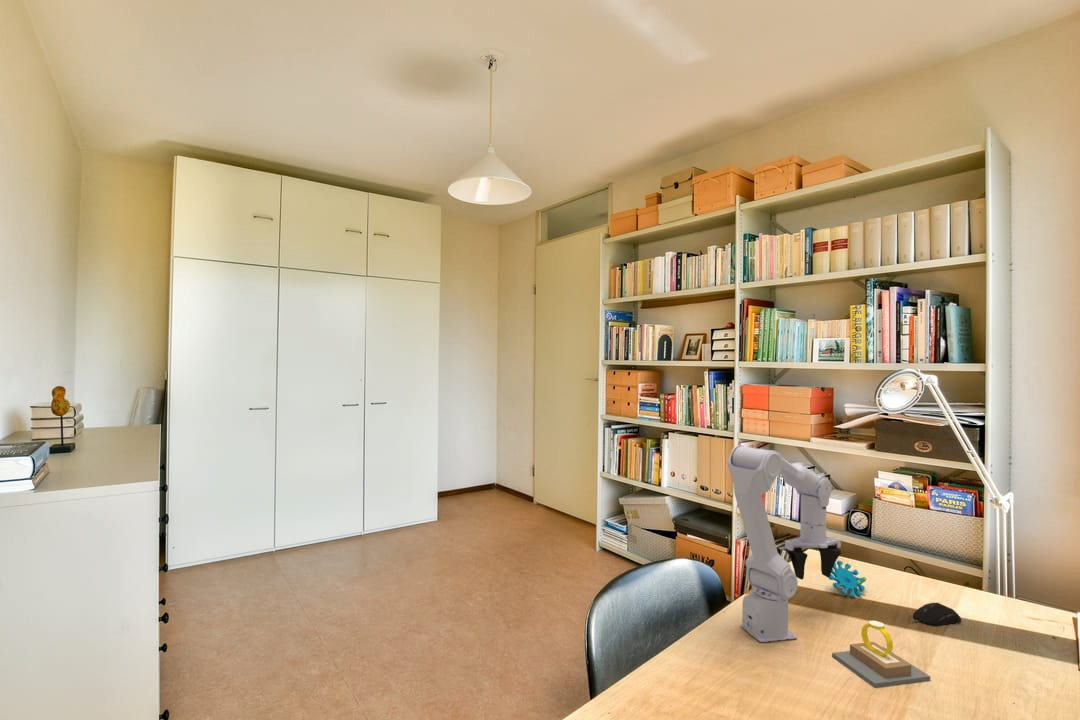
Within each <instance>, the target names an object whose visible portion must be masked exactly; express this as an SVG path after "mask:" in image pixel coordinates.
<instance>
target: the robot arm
mask: <svg viewBox="0 0 1080 720" xmlns="http://www.w3.org/2000/svg"><path fill="white" fill-rule="evenodd" d="M726 464H727V467H728V471H729V474H730V476H731V478H730V479H731V480H732V484H733V491H734V497H735V501H736V503H737V507H738V510H739V513H740V517H741V520H742V521H741V522H742V523H743V528H744V530H745V534H746V536H747V537H746V538H747V541H748V545H749V547H750V551H751V554H750V555H749V556H748V557H747V559H746V560H745V561H744V563H745V566H746V579H747V582H748V584H749V585H750V586H751V591H753V592H751V593H749V594H746V595H745V596H744V597H743V599H742V614H741V616H742V623H740V627H741V628H743V630H745V631H746V632H747V633H748V634H750V636H752V637H753V638H754V637H755V638H754V639H756V641H758V642H759V643H768V642H769V641H770V642H777V641H778V640H780V641H786V639H789V640H796V639H797V638H798V637H797V635H796V634H794V633H793V632H792V631H790V630H789V600H790V599H791V598H793V597H794V595H795V594H796V592H797V589H798V585H799V584H798V583H799V582H798V579H799V580H804V578H805V566H806V560H807V558H808V556H809V555H808V554H807V553H806V552H804V550H803V549H818V552H819V554H820V556H819V557H820V570H821V575H823V576H825V577H826V578H828V577H830V575H831V574H832V573H831V572H832V569H833V566H834V564H835V563H837V561H838V558H839V557H840V555H842V550H841V549H839V548H841V547H842V539H841V538H838V537H834V536H833V537H831V536H830V537H829V536H827V507H828V506H829V504H830V497H831V495H832V490H833V486H832V484H831V481H830V479H828V477H826V476H824V475H821V474H820V475H819V474H818V473H815V470H814V469H810V468H809V469H808V468H807V467H806V464H805V463H804V462H799V461H796V462H793V463H792V462H791V463H790V462H789V461H788V460H786V459H785V458H784V457H783V455H782V454H781V452H777V450H772V449H771V450H770V449H768V450H767V449H761V448H758V447H757V448H755V447H751V446H750V447H749V446H744V445H741V444H737V445H735V446H733V448H732V449H731V452H730V453H729V457H728V459H727V462H726ZM778 475H780V476H782V479H783V481H784V482H785V483H786V484H787V485H788V486H790V487H792V488H793V489H795V491H796V493H797V494H798V495H800V528H799V529H800V530H799V531H800V532H799V533H800V536H798V537H795V538H792V539H785V540H784V548H785V551H786V553H787V555H788V556H789V559H790V561H791V564H792V567H793V569H792V567H791V564H790V563H789V562H788V561H787V560H786V559H785V558H783V556H781V555H780V554H779V551H778V550H777V549H778V548H777V545H776V542H775V538H774V535H773V531H772V528H771V524H770V521H769V517H768V514H767V510H766V506H765V503H764V501H763V496H762V495H763V494H766V493H768V492H770V489H771V488H772V486H773V484H774V482H775V480H776V479H777V477H778ZM833 570H834V569H833Z"/></svg>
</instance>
